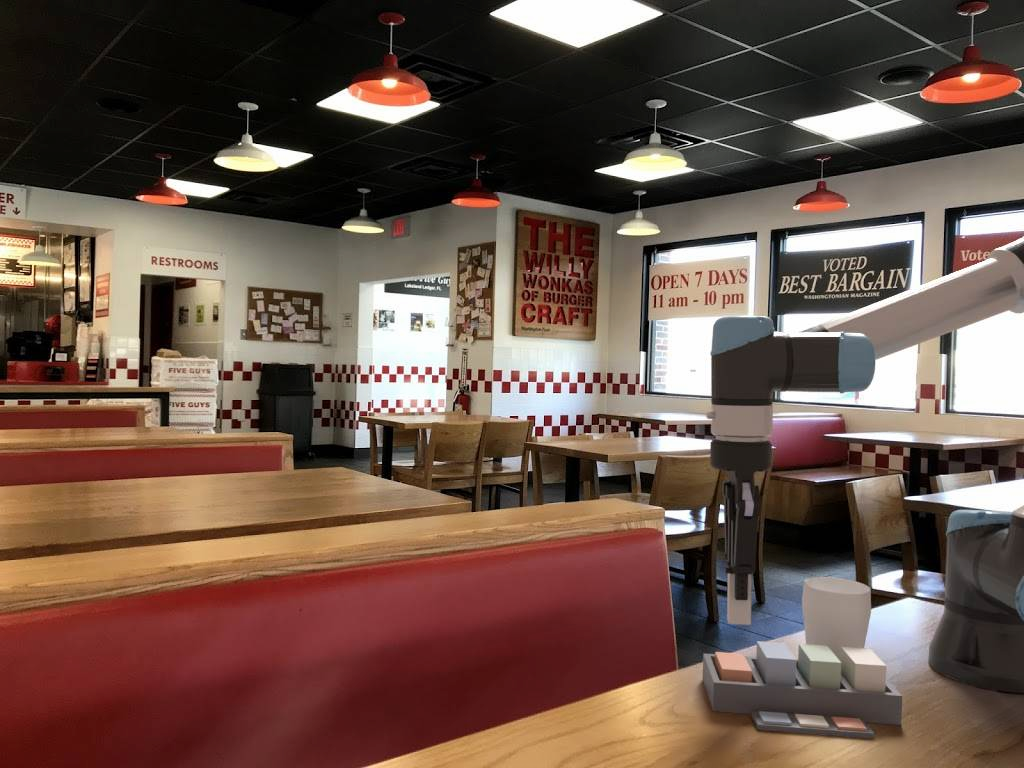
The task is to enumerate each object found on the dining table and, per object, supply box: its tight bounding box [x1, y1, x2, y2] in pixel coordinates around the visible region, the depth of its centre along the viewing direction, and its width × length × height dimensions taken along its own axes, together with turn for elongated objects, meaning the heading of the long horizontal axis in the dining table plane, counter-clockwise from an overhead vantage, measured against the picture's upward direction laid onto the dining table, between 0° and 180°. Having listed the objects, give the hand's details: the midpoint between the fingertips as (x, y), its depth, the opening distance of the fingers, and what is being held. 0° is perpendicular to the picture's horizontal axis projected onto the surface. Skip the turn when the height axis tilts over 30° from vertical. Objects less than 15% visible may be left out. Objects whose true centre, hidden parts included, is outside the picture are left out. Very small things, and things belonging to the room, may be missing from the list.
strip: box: [751, 711, 875, 740], centre depth 94 cm, size 13×4×1 cm, turn 84°
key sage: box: [797, 643, 841, 689], centre depth 101 cm, size 4×6×4 cm, turn 174°
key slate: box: [755, 640, 798, 686], centre depth 101 cm, size 4×6×4 cm, turn 174°
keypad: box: [702, 653, 903, 726], centre depth 101 cm, size 22×10×4 cm, turn 84°
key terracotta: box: [714, 651, 752, 683], centre depth 102 cm, size 4×6×4 cm, turn 174°
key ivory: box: [840, 647, 887, 692], centre depth 100 cm, size 4×6×4 cm, turn 174°
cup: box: [801, 576, 872, 661], centre depth 112 cm, size 9×9×12 cm
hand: (738, 622), depth 102 cm, fingers closed
